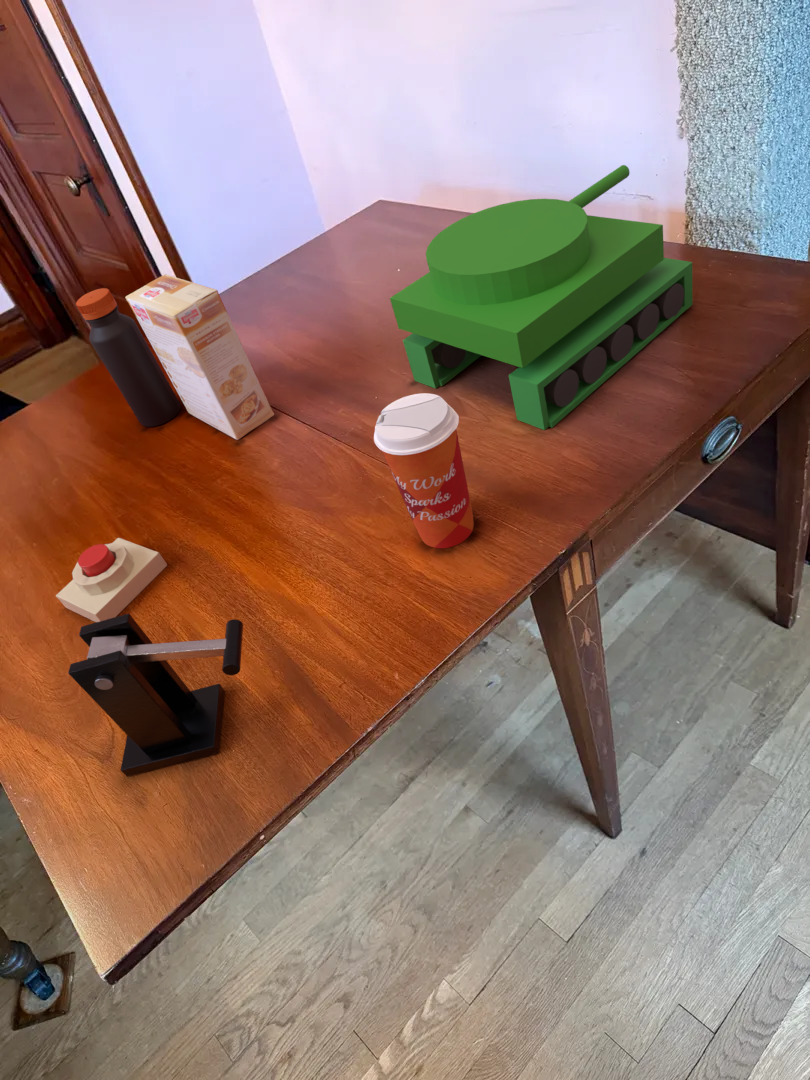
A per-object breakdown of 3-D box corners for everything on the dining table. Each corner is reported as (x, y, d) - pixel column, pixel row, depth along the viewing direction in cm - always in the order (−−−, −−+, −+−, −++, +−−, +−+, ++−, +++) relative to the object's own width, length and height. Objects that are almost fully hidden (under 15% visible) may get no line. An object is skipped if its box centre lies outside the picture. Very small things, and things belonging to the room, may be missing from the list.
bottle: (132, 427, 116) (59, 310, 102) (158, 401, 120) (91, 285, 106) (163, 429, 112) (92, 309, 99) (190, 402, 116) (124, 283, 103)
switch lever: (244, 633, 66) (241, 614, 64) (241, 678, 62) (238, 660, 60) (102, 643, 64) (95, 624, 63) (90, 690, 61) (82, 671, 59)
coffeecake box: (276, 414, 107) (218, 288, 94) (237, 442, 104) (172, 316, 91) (224, 389, 117) (165, 271, 104) (187, 413, 114) (122, 296, 101)
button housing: (105, 627, 83) (86, 604, 81) (65, 607, 88) (46, 585, 85) (167, 565, 88) (151, 541, 86) (127, 549, 93) (110, 526, 90)
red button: (98, 580, 84) (89, 570, 83) (80, 572, 86) (71, 562, 85) (121, 558, 86) (113, 547, 84) (103, 551, 88) (95, 540, 86)
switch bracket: (224, 690, 72) (156, 597, 63) (219, 753, 67) (143, 662, 58) (138, 712, 73) (58, 624, 64) (126, 777, 68) (37, 690, 59)
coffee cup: (402, 557, 79) (359, 445, 69) (418, 504, 84) (381, 393, 74) (479, 555, 76) (446, 439, 66) (491, 500, 81) (462, 385, 71)
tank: (719, 289, 100) (722, 162, 89) (547, 431, 87) (526, 305, 77) (575, 263, 116) (562, 153, 105) (413, 380, 104) (380, 269, 93)
